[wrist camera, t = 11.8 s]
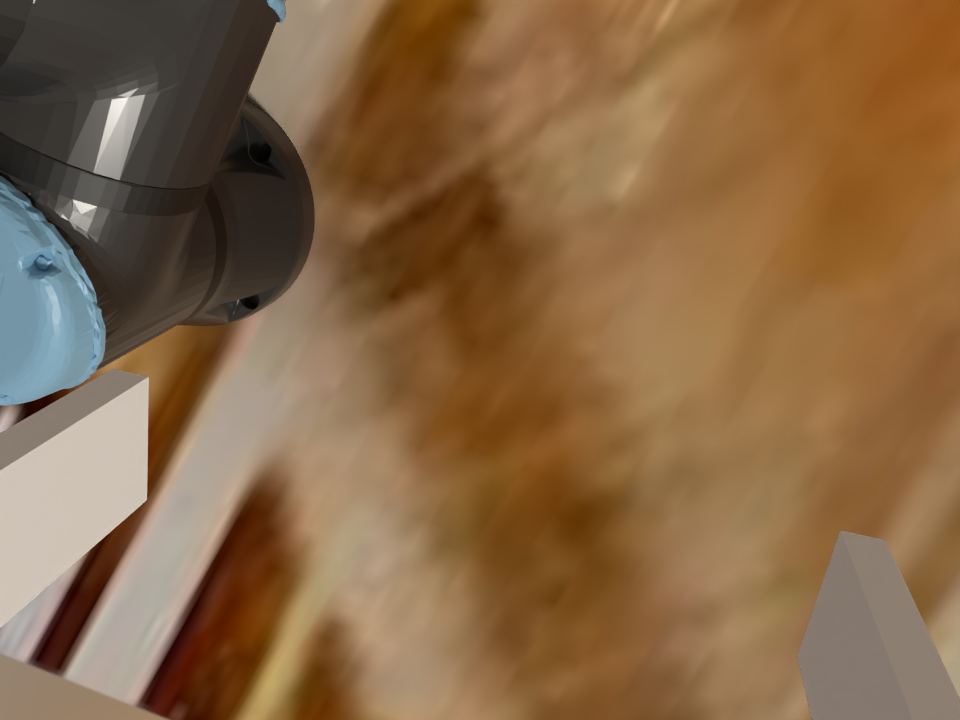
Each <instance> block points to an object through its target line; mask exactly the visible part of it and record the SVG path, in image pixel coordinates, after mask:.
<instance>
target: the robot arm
mask: <svg viewBox="0 0 960 720" xmlns="http://www.w3.org/2000/svg"><path fill="white" fill-rule="evenodd" d="M285 1H286V0H0V405H11V404H20V403H25V402H30V401H33V400H37V399H39V398H42V397H44V396H46V395H49V394H51V393H54V392H56V391H59V390H61V389H68V388H72V387H74V386H77V385H79V384H81V383H82V382H84V381H85V380H86V379H88V378H90V375H91V374H93V373H95V372H96V371H97V370H99V369H100V368H102V367H104V366H106V365H107V364H109V363H111V362H113V361H114V360H116V359H118V358H120V357H121V356H123V355H125V354H127V353H129V352H130V351H132V350H134V349H136V348H137V347H139V346H141V345H143V344H144V343H146V342H148V341H150V340H152V339H153V338H155V337H157V336H159V335H160V334H162V333H164V332H166V331H167V330H169V329H171V328H173V327H174V326H176V325H191V326H215V325H223V324H228V323H232V322H235V321H239V320H242V319H244V318H247V317H249V316H251V315H253V314H255V313H256V312H258V311H260V310H261V309H263V308H265V307H266V306H268V305H269V304H271V303H272V302H274V301H275V300H277V299H278V298H279V297H280V296H281V295H283V294H284V293H285V292H286V291H287V290H288V289H289V288H290V286H291V285H292V284H293V283H294V281H295V280H296V278H297V277H298V275H299V274H300V272H301V270H302V268H303V266H304V264H305V262H306V260H307V257H308V254H309V251H310V248H311V244H312V239H313V232H314V202H313V196H312V191H311V186H310V183H309V179H308V176H307V173H306V170H305V168H304V165H303V163H302V161H301V159H300V157H299V155H298V153H297V151H296V149H295V148H294V146H293V145H292V143H291V142H290V140H289V139H288V137H287V136H286V135H285V133H284V132H283V131H282V130H281V128H280V127H279V126H278V125H277V124H276V123H275V122H274V121H273V120H272V119H271V118H270V117H269V116H268V115H267V114H265V113H264V112H263V111H262V110H260V109H259V108H258V107H256V106H255V105H253V104H252V103H250V102H249V101H247V100H245V99H246V96H247V94H248V91H249V89H250V86H251V84H252V81H253V79H254V76H255V74H256V72H257V69H258V67H259V64H260V62H261V59H262V57H263V54H264V52H265V49H266V47H267V44H268V42H269V39H270V37H271V35H272V32H273V30H274V27H275V25H276V22H279V23H282V22H283V21H284V18H285V15H286V8H285V5H284V4H285ZM148 387H149V377H147V376H143V375H138V374H134V373H129V372H125V371H120V370H116V369H111V370H109V371H108V372H106V373H104V374H102V375H101V376H99V377H97V378H96V379H94V380H92V381H90V382H89V383H87V384H85V385H83V386H82V387H80V388H78V389H76V390H75V391H73V392H71V393H69V394H68V395H66V396H64V397H63V398H61V399H59V400H57V401H56V402H54V403H52V404H50V405H49V406H47V407H45V408H43V409H42V410H40V411H38V412H36V413H35V414H33V415H31V416H30V417H28V418H26V419H24V420H23V421H21V422H19V423H17V424H16V425H14V426H12V427H10V428H9V429H7V430H5V431H3V432H2V433H0V628H1V627H2V626H3V625H4V624H5V623H6V622H7V621H9V620H10V619H11V618H12V617H13V616H14V615H15V614H17V613H18V612H19V611H20V610H21V609H22V608H24V607H25V606H26V605H27V604H28V603H29V602H30V601H32V600H33V599H34V598H35V597H36V596H37V595H38V594H40V593H41V592H42V591H43V590H44V589H45V588H46V587H48V586H49V585H50V584H51V583H52V582H53V581H55V580H56V579H57V578H58V577H59V576H60V575H61V574H63V573H64V572H65V571H66V570H67V569H68V568H69V567H71V566H72V565H73V564H74V563H75V562H76V561H77V560H79V559H80V558H81V557H82V556H83V555H84V554H86V553H87V552H88V551H89V550H90V549H91V548H92V547H94V546H95V545H96V544H97V543H98V542H99V541H100V540H102V539H103V538H104V537H105V536H106V535H107V534H108V533H110V532H111V531H112V530H113V529H114V528H115V527H117V526H118V525H119V524H120V523H121V522H122V521H123V520H125V519H126V518H127V517H128V516H129V515H130V514H131V513H133V512H134V511H135V510H136V509H137V508H138V507H139V506H141V505H142V504H143V503H144V502H145V501H146V500H147V457H148ZM797 658H798V662H799V667H800V671H801V675H802V680H803V684H804V688H805V693H806V697H807V701H808V706H809V710H810V714H811V719H812V720H960V698H959V696H958V694H957V692H956V690H955V688H954V686H953V683H952V681H951V679H950V677H949V675H948V673H947V671H946V668H945V666H944V664H943V662H942V660H941V658H940V656H939V654H938V651H937V649H936V647H935V645H934V643H933V641H932V639H931V636H930V634H929V632H928V630H927V628H926V626H925V624H924V621H923V619H922V617H921V615H920V613H919V611H918V609H917V607H916V604H915V602H914V600H913V598H912V596H911V594H910V592H909V589H908V587H907V585H906V583H905V581H904V579H903V577H902V575H901V572H900V570H899V568H898V566H897V564H896V562H895V560H894V557H893V555H892V553H891V551H890V549H889V547H888V545H887V542H886V540H882V539H877V538H873V537H868V536H864V535H859V534H855V533H850V532H846V531H841V530H840V533H839V536H838V539H837V542H836V545H835V548H834V551H833V554H832V557H831V560H830V562H829V565H828V568H827V571H826V574H825V577H824V580H823V583H822V586H821V589H820V592H819V595H818V598H817V601H816V604H815V606H814V609H813V612H812V615H811V618H810V621H809V624H808V627H807V630H806V633H805V636H804V639H803V642H802V645H801V648H800V650H799V653H798V656H797Z"/></svg>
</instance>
